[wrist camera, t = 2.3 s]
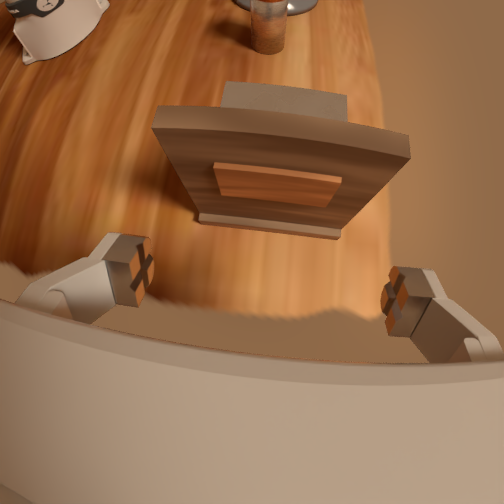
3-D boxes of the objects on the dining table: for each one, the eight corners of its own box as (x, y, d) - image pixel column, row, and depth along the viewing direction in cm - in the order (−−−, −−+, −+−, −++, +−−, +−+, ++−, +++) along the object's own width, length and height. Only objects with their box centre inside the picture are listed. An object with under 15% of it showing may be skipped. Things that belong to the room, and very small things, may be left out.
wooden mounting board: (337, 240, 32) (411, 170, 15) (201, 224, 33) (147, 139, 16) (340, 169, 34) (397, 64, 17) (213, 154, 34) (182, 38, 17)
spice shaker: (244, 42, 37) (241, -19, 27) (269, 30, 38) (272, -29, 27) (265, 59, 37) (267, -4, 26) (291, 46, 37) (298, -15, 26)
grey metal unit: (323, 191, 26) (347, 145, 18) (226, 180, 26) (215, 130, 18) (325, 145, 27) (346, 91, 19) (234, 135, 27) (227, 77, 19)
